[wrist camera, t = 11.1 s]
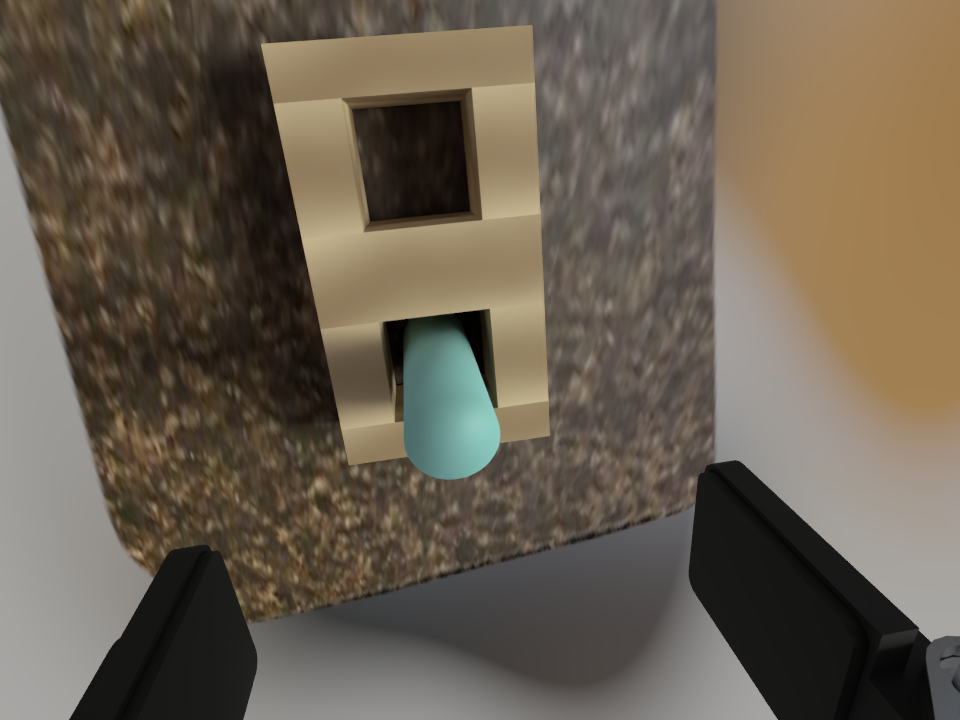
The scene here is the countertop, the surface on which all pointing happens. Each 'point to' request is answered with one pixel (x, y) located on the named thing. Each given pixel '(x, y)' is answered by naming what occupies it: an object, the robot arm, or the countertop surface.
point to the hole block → (418, 219)
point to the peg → (445, 400)
